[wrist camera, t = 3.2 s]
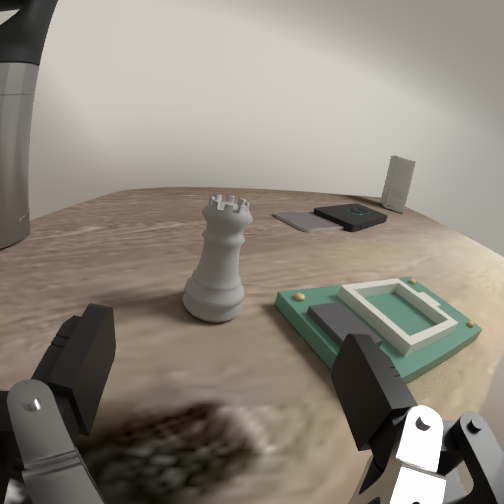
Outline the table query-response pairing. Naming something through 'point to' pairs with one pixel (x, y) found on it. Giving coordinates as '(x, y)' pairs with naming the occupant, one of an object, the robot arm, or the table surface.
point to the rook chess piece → (219, 263)
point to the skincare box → (397, 183)
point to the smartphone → (307, 221)
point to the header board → (380, 322)
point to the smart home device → (351, 216)
